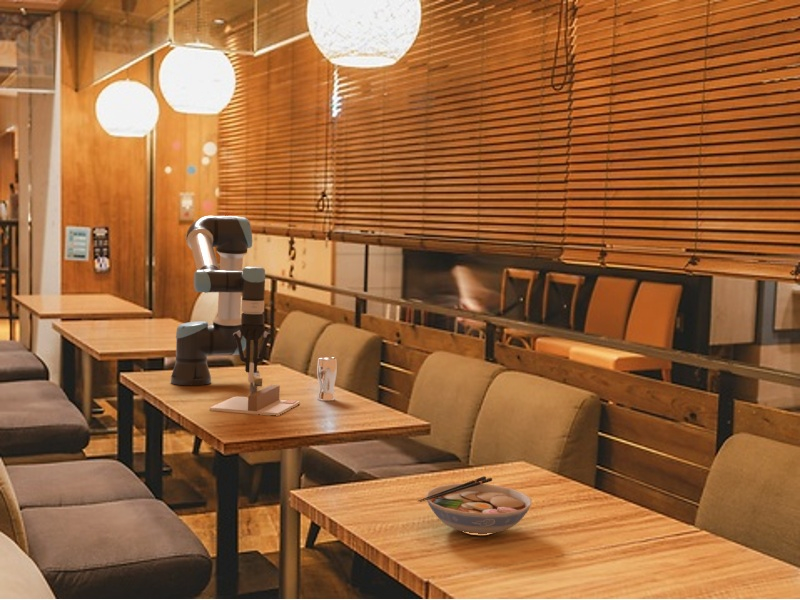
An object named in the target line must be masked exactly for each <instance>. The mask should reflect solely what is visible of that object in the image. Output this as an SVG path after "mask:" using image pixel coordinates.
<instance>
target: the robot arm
mask: <svg viewBox="0 0 800 600" xmlns="http://www.w3.org/2000/svg"><path fill="white" fill-rule="evenodd" d="M185 239H186V243H187V246H188V248H189V249H191V252H192V255H193V259H194V263H195V268H196V270H195V271H194V273H193V289H194V291H195V292H198V293H204V294H206V293H207V294H208V293H218V296H217V297H218V298H217V301H218V302H217V315H216V317H215V318H214V319H213V322H212V323H213V324H211V325H210V324H208V322H207V321H205V320H203V321H202V320H201V321H196V320H195V321H190V322H183V323H181V324H179V325H177V327H176V334H175V338H176V342H175V343H176V344H175V345H176V346H175V364H174V367H173V371H172V372H171V376H170V384H173V385H176V386H177V385H179V386H204V385H209V384H211V383H212V376H211V372H210V369H209V365H208V356H234V355H236V356H237V355H239V360H240V361H241V362H244V363H245V364H244V365H245V366H244V367H245V370H244V371H245V372H246V373H248V377H247V378H248V379H247V382H248V383H249V384H250V383H253V377H254V372H257V371H258V363H260V362H262V361H264V357H265V353H266V349H267V345H268V342H269V340H270V338H271V337H272V334H271V333H270V332H268V331H266V328H265V314H264V312H265V292H266V291H265V288H266V280H267V279H266V269H265V267H260V266H244V267H243V262H244V256H245V255H247V254H248V249H251V248H253V247H252V246H253V232H252V225H251V223H250V220H249V219H248V218H247V217H244V216H243V217H242V216H235V215H234V216H233V215H228V216H227V215H226V216H225V215H205V216H202V217H199V218H198V219H196V220H195V221H193V222H192V223H191V224H190V226H189V227H188V229H187V231H186V238H185ZM214 248H216V250H215V249H214ZM215 251H216V253H217V254H218V255H219V256H220V257H219V263H218V260H217V256H216V253H215ZM241 312H242V313H241ZM262 336H263V339H262V340H263V341H262V343H261V347H260V350H259V351H258V349H259V340H260V339H261V337H262ZM251 341H252V342H253V344H252V343H251ZM251 344H252V346H253V347H252V361H251ZM244 351H245V353H244ZM244 354H245V355H244Z"/></svg>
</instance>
